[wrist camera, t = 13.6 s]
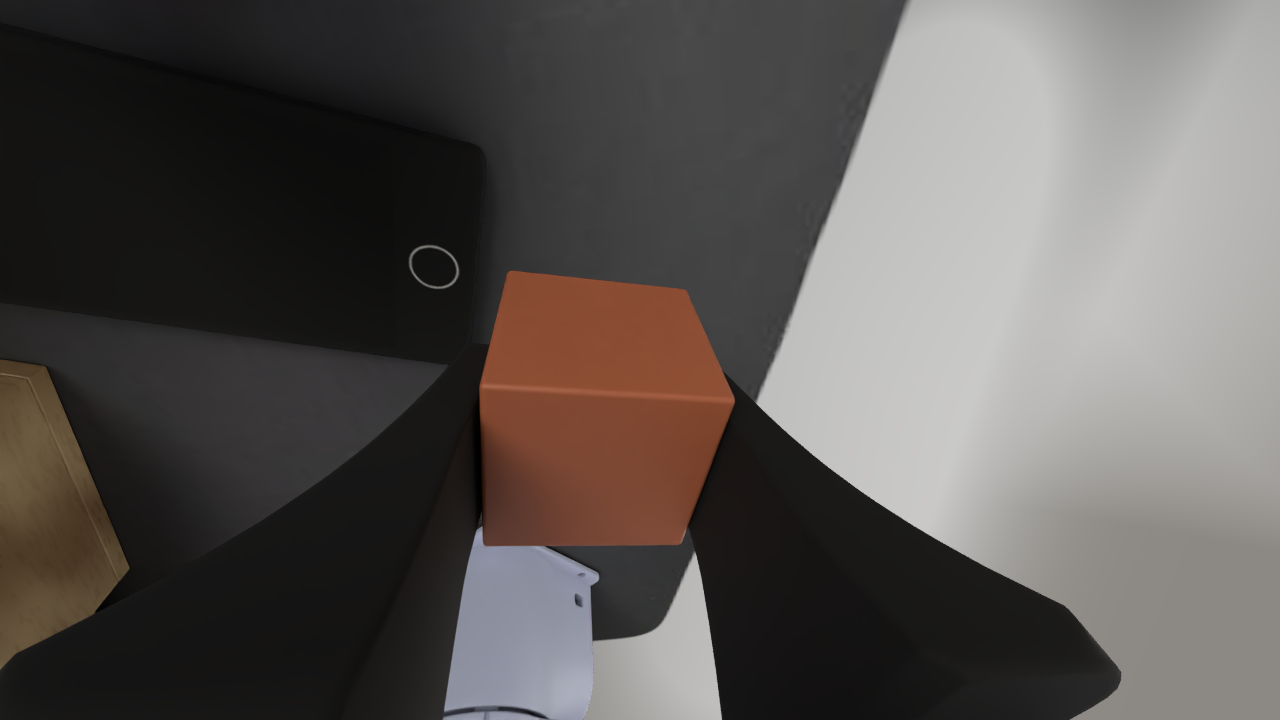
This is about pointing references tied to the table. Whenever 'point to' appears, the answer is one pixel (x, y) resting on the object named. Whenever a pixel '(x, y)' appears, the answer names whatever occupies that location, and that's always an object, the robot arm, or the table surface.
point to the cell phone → (229, 207)
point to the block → (596, 414)
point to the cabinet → (47, 517)
